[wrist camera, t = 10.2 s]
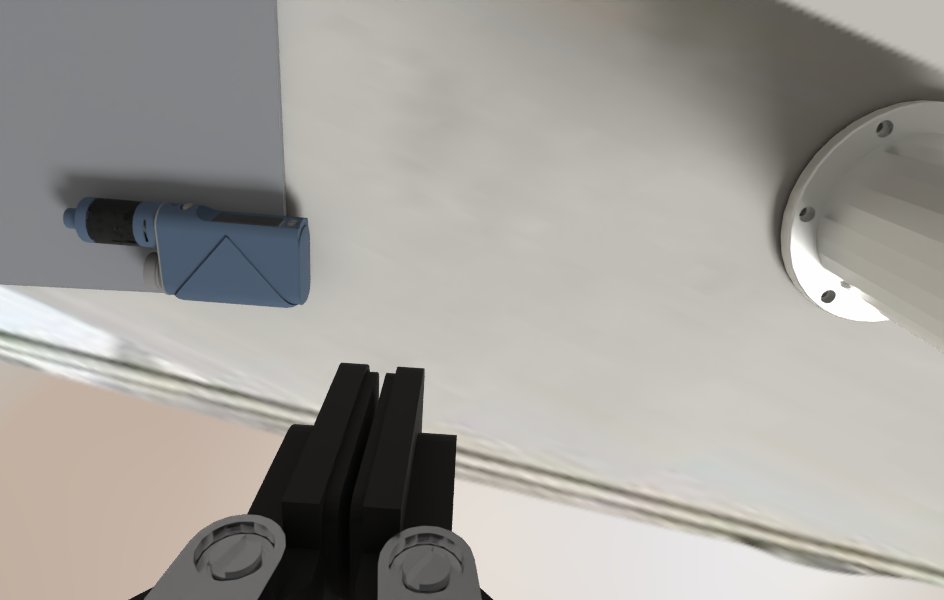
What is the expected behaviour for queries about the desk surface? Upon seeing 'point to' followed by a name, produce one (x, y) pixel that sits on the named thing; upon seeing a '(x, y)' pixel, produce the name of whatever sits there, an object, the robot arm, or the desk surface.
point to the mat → (131, 124)
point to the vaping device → (205, 249)
